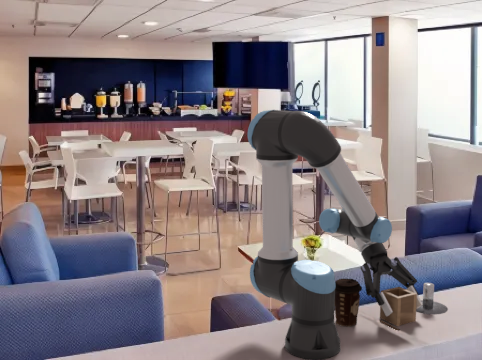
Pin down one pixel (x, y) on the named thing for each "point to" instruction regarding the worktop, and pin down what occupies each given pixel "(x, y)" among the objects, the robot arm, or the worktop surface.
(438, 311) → the post stand
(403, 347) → the worktop surface
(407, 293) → the sleeve
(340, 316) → the coffee cup
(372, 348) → the worktop surface
